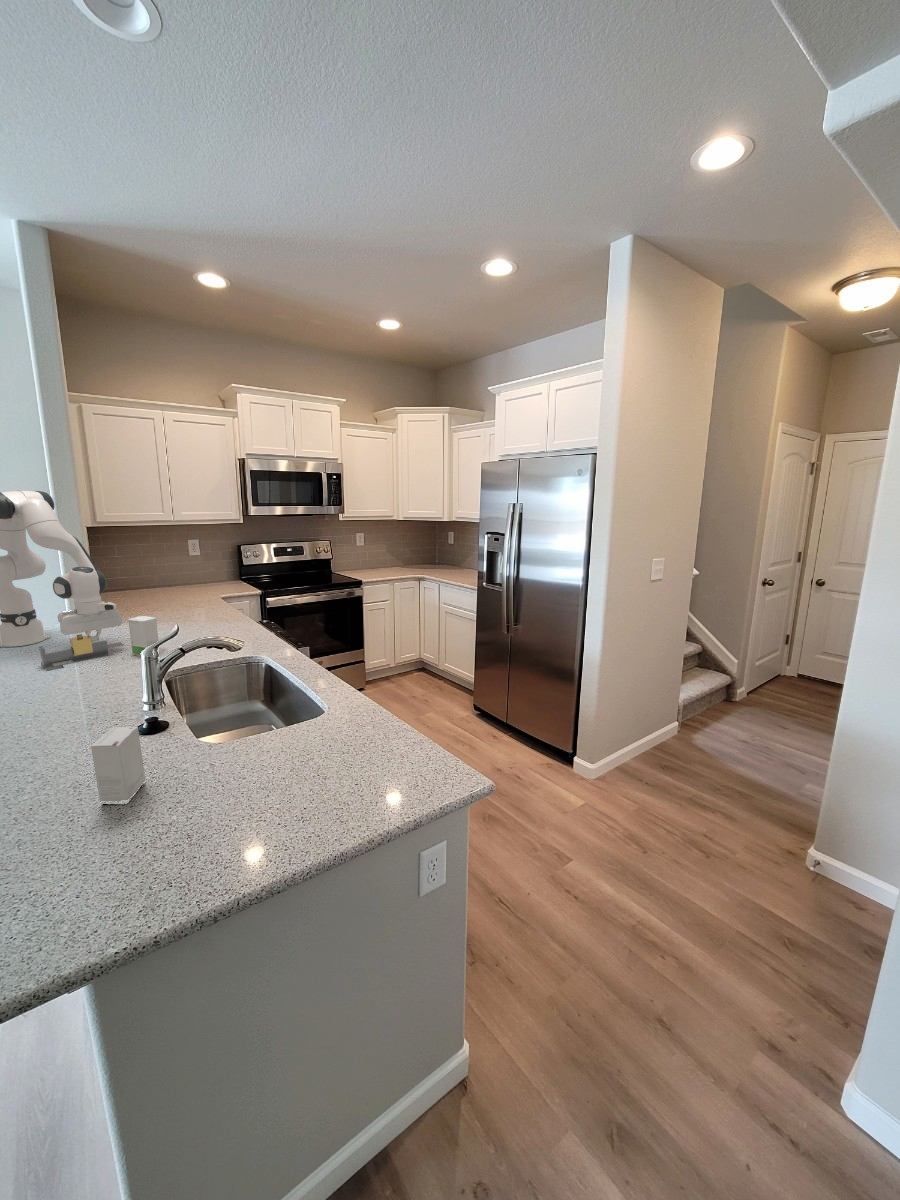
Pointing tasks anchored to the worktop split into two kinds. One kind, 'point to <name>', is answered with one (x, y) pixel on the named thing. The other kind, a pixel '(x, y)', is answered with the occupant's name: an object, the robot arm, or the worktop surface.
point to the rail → (72, 656)
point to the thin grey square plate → (115, 645)
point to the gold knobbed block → (81, 645)
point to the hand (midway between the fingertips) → (94, 640)
